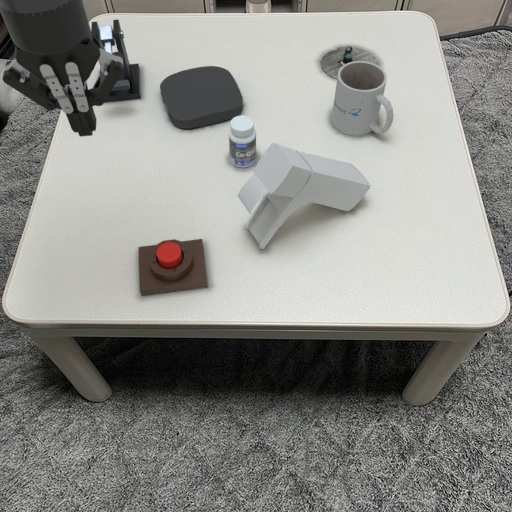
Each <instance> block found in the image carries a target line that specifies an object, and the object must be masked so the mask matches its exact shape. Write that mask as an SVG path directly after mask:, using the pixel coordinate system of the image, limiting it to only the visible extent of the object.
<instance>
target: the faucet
mask: <svg viewBox="0 0 512 512" xmlns="http://www.w3.org/2000/svg"><path fill="white" fill-rule="evenodd" d="M253 173H254V174H253V175H252V176H250V178H248V180H247V181H246V182H245V183H244V184H243V186H242V187H241V189H240V190H239V191H238V194H237V195H236V196H237V198H238V199H239V200H240V202H241V203H242V205H243V206H244V208H245V209H246V210H247V212H248V213H249V215H251V216H250V218H249V219H248V221H247V223H246V224H245V227H246V229H247V230H248V231H249V232H250V234H251V235H252V237H253V238H254V240H255V241H256V242H257V244H258V247H259V248H260V250H265V249H266V247H267V246H268V244H269V242H270V241H271V240H272V238H273V237H274V236H275V234H276V233H277V232H278V231H279V229H280V228H281V226H282V225H283V224H284V223H285V222H286V220H287V219H288V218H290V216H291V215H292V214H293V213H294V212H295V210H296V209H298V208H300V207H301V206H303V205H305V204H308V203H315V204H318V205H321V206H326V207H329V208H333V209H336V210H341V211H345V212H350V211H351V210H353V209H354V208H355V207H356V206H357V205H358V203H359V202H361V200H362V199H363V198H364V197H365V195H366V194H367V193H368V191H369V190H370V188H371V184H370V182H369V181H368V179H367V178H366V176H365V175H364V173H362V172H361V171H360V170H359V169H358V168H357V167H356V166H355V165H354V164H352V163H351V162H346V161H342V160H337V159H334V158H329V157H325V156H321V155H317V154H311V153H309V152H308V153H307V152H303V151H300V150H296V151H295V149H292V148H290V147H287V146H285V145H281V144H279V143H276V142H273V141H272V143H271V144H270V145H269V147H268V148H267V149H266V150H265V151H264V153H263V154H262V156H260V158H259V160H258V162H257V163H256V165H255V167H254V169H253ZM254 208H255V209H254ZM253 210H254V211H253ZM251 213H252V214H251Z"/></svg>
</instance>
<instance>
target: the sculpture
mask: <svg viewBox="0 0 512 512" xmlns="http://www.w3.org/2000/svg"><path fill="white" fill-rule="evenodd" d="M354 61H366V62H371V63H373V64H376V65H378V66H379V67H381V66H380V64H379V61H378V59H377V58H376V56H375V55H374V54H372V53H371V52H369V51H368V50H365V49H362V48H360V47H356V46H351V45H350V46H349V45H348V46H339V47H337V48H336V49H334V50H333V49H332V50H330V51H328V52H326V53H325V54H324V55H322V57H321V59H320V60H319V65H320V67H321V69H322V71H323V72H324V73H327V75H328V76H329V77H330V78H333V79H336V80H337V76H338V71H339V69H340V68H341V67H342V66H343V65H345V64H347V63H350V62H354Z"/></svg>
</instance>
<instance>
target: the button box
mask: <svg viewBox="0 0 512 512" xmlns="http://www.w3.org/2000/svg"><path fill="white" fill-rule="evenodd" d="M168 242H172V243H175V244H177V245H178V246H179V247H180V249H181V253H182V261H181V263H180V264H179V265H178V266H176V267H174V268H164V267H162V266H161V265H160V263H159V261H158V258H157V250H158V248H159V247H160V246H161V245H162V244H164V243H168ZM207 275H208V274H207V267H206V257H205V250H204V242H203V238H197V239H189V240H179V239H175V238H174V239H167V240H165V239H164V240H162V241H160V242H159V243H157V244H152V245H151V244H150V245H144V246H138V279H139V280H138V281H139V284H138V285H139V293H140V295H141V296H142V297H145V296H153V295H158V294H166V293H174V292H181V291H189V290H195V289H204V288H208V287H209V285H208V284H209V283H208V276H207Z"/></svg>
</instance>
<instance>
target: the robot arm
mask: <svg viewBox="0 0 512 512" xmlns="http://www.w3.org/2000/svg"><path fill="white" fill-rule="evenodd" d="M0 15H1V17H2V19H3V21H4V24H5V26H6V29H7V31H8V33H9V36H10V38H11V40H12V43H13V44H14V54H13V55H14V58H13V60H7V61H6V62H5V65H4V67H3V72H2V81H3V83H4V84H6V85H7V86H9V87H11V88H12V89H14V90H15V91H17V92H19V93H20V94H22V95H23V96H25V97H26V98H28V99H29V100H31V101H32V102H34V103H35V104H37V105H39V106H40V107H42V108H43V109H45V110H47V111H49V112H52V111H55V110H56V109H57V110H61V111H62V112H63V113H64V114H65V116H66V119H67V121H68V123H69V126H70V128H71V131H72V132H74V133H75V134H76V133H78V136H79V137H92V136H93V135H94V134H93V133H94V132H96V130H97V122H98V121H97V119H98V118H97V116H96V113H95V109H94V107H95V106H96V107H101V106H103V105H104V103H106V102H105V100H106V98H107V97H108V95H109V94H110V92H111V90H112V89H113V87H114V86H115V84H116V82H117V81H118V79H119V78H120V76H121V74H122V73H123V55H122V54H121V53H120V52H118V51H113V53H112V54H111V53H109V52H107V51H106V50H103V49H101V46H100V43H99V41H98V40H97V39H96V38H95V37H94V35H93V34H92V32H91V26H90V22H89V19H88V16H87V12H86V9H85V5H84V2H83V0H0ZM99 62H100V64H99V72H100V71H101V74H100V73H99V75H98V77H97V79H96V81H94V84H93V86H92V87H91V88H89V85H88V80H89V79H90V77H91V75H92V73H93V71H94V69H95V68H96V65H97V64H98V63H99Z"/></svg>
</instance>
